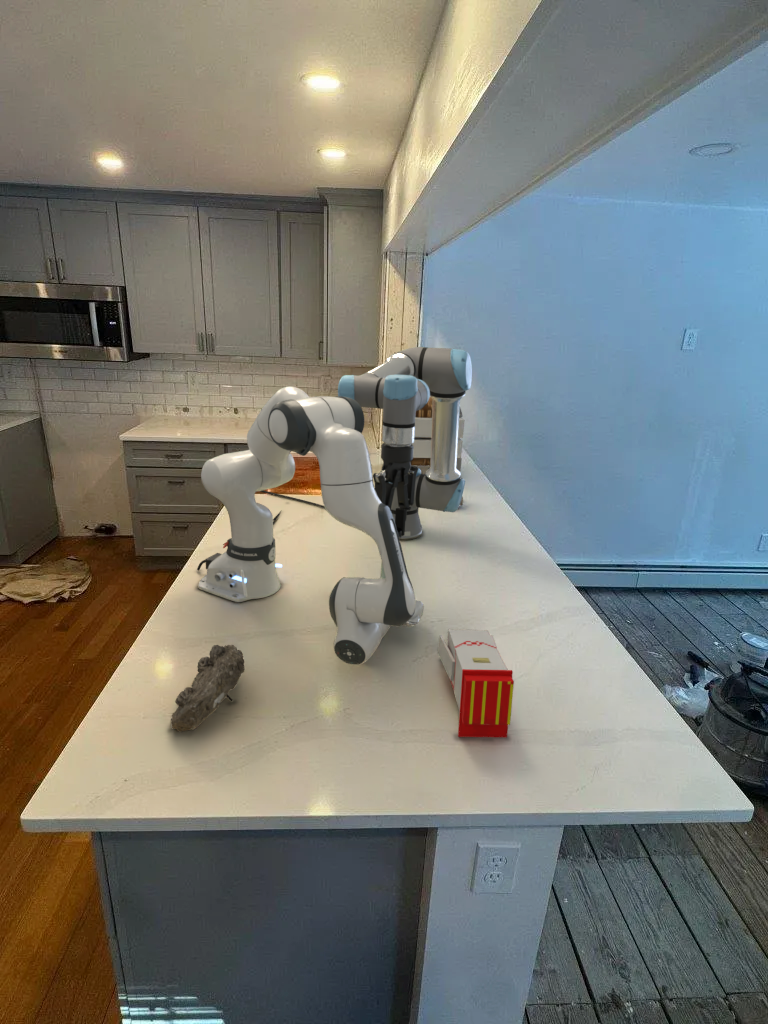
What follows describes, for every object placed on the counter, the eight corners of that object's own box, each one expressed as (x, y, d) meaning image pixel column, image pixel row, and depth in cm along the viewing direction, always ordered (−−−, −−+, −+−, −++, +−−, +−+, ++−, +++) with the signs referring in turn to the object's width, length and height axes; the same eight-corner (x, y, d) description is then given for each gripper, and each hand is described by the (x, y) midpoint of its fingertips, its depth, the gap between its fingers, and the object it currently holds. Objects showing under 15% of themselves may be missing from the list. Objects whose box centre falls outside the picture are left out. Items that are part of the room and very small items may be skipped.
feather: (288, 505, 226) (290, 501, 226) (271, 529, 199) (273, 524, 199) (284, 503, 226) (287, 499, 225) (266, 526, 199) (269, 522, 199)
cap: (382, 538, 138) (382, 531, 137) (386, 532, 142) (386, 525, 141) (399, 540, 137) (400, 533, 137) (402, 534, 141) (403, 527, 141)
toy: (488, 613, 130) (523, 677, 101) (484, 667, 133) (517, 744, 104) (435, 612, 130) (455, 676, 101) (432, 666, 133) (451, 743, 103)
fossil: (195, 646, 122) (244, 615, 117) (225, 676, 125) (275, 646, 120) (147, 725, 102) (204, 691, 98) (185, 758, 105) (242, 726, 100)
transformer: (382, 463, 289) (386, 382, 275) (445, 464, 293) (451, 384, 279) (390, 482, 257) (394, 392, 243) (460, 483, 261) (468, 394, 247)
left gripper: (416, 614, 129) (430, 588, 142) (334, 597, 135) (354, 574, 148) (415, 638, 132) (429, 610, 144) (333, 621, 137) (353, 595, 150)
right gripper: (410, 436, 140) (404, 524, 148) (359, 445, 128) (357, 540, 136) (433, 441, 135) (426, 532, 143) (383, 451, 123) (379, 550, 131)
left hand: (390, 591), depth 146 cm, fingers closed on bottle, 5 cm apart
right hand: (392, 536), depth 140 cm, fingers closed on cap, 4 cm apart
